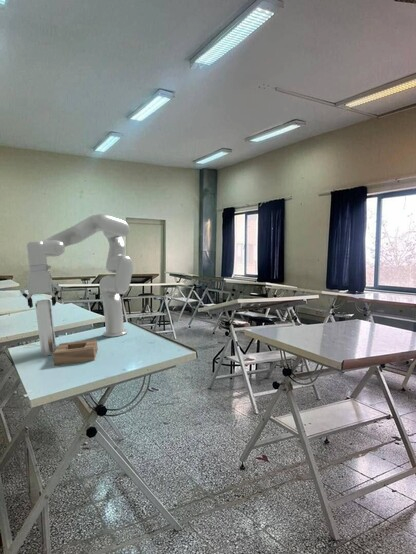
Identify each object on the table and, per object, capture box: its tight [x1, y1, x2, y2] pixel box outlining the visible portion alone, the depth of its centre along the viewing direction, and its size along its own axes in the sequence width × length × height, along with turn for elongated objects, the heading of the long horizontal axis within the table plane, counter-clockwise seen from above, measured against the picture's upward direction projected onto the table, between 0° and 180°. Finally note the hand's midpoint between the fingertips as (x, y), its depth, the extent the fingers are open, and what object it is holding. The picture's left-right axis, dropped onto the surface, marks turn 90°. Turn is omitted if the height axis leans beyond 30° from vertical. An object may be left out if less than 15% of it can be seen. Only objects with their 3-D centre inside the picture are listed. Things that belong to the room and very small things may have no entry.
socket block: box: [52, 338, 99, 366], centre depth 164 cm, size 16×16×5 cm
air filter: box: [35, 298, 57, 356], centre depth 172 cm, size 6×6×25 cm
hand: (42, 306), depth 170 cm, fingers open, 9 cm apart
